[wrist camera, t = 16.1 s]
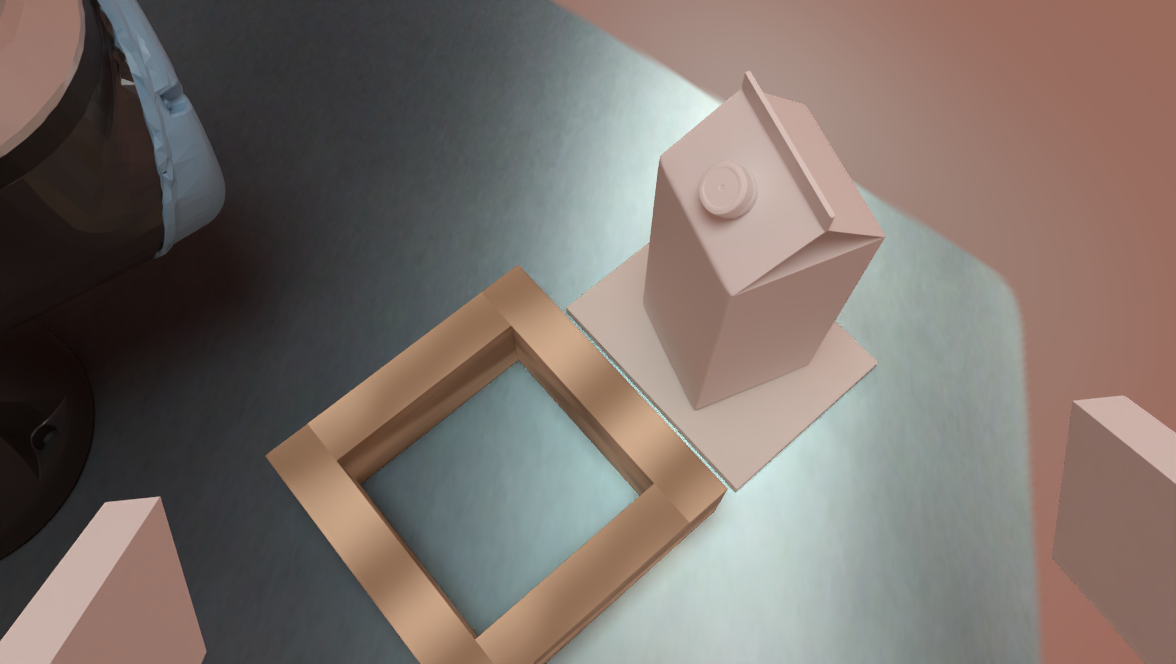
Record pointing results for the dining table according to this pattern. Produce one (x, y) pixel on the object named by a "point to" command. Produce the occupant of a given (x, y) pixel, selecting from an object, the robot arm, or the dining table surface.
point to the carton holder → (433, 391)
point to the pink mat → (731, 425)
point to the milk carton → (752, 245)
